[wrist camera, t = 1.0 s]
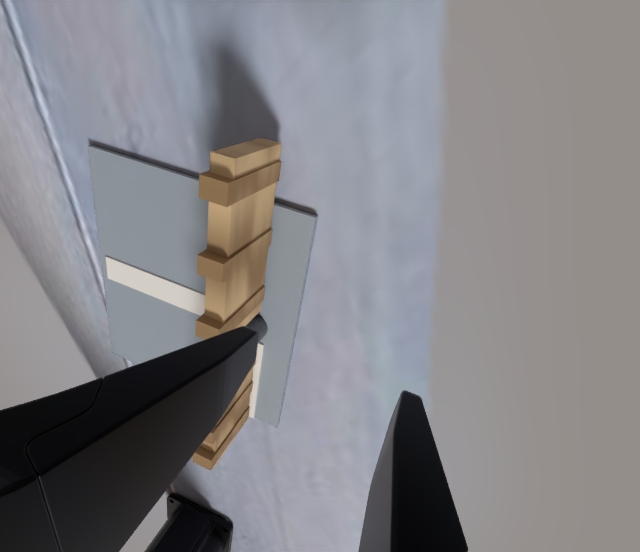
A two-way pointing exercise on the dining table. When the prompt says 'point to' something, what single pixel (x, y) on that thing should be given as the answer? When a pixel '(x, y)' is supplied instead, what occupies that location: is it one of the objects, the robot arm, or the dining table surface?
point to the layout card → (187, 269)
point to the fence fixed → (226, 426)
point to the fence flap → (237, 233)
